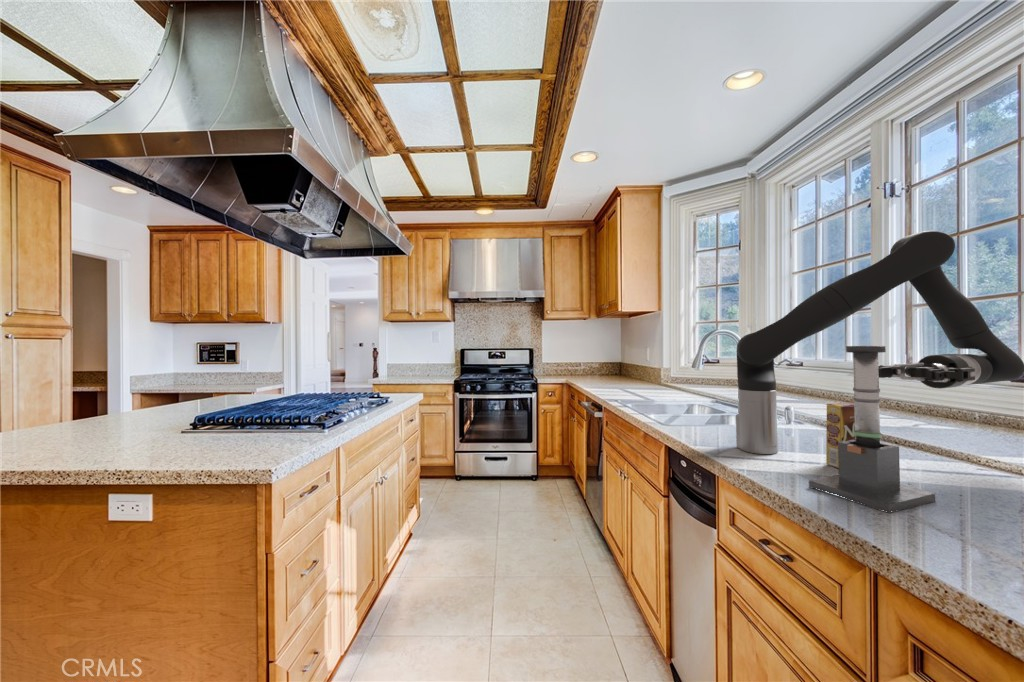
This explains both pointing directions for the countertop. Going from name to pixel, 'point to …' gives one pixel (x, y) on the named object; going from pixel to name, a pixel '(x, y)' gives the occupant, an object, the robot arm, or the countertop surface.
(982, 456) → the countertop surface
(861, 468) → the stand base
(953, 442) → the countertop surface
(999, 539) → the countertop surface
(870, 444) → the steel column
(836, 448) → the candy box
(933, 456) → the countertop surface
